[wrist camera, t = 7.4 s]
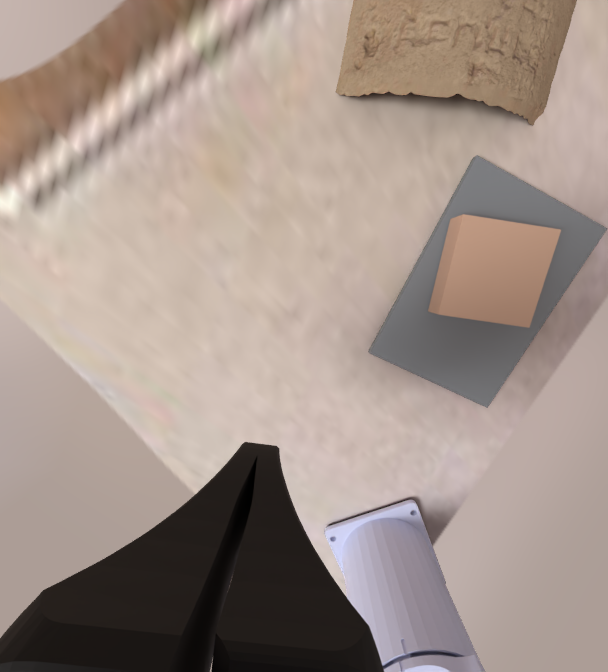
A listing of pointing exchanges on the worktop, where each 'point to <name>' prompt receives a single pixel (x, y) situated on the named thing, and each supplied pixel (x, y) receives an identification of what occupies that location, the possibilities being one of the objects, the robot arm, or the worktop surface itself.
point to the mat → (474, 335)
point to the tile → (492, 270)
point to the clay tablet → (457, 50)
